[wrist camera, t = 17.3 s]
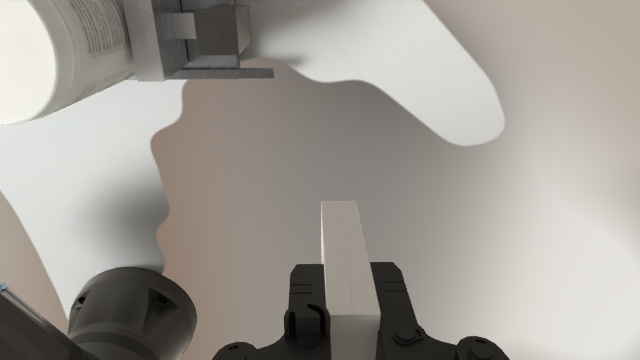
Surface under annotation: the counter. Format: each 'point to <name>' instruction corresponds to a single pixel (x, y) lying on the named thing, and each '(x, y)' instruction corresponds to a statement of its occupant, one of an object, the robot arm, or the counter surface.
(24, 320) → the robot arm
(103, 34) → the supplement tub
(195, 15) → the sliding jaw
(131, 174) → the counter surface
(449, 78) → the counter surface
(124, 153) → the counter surface
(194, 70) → the vise
